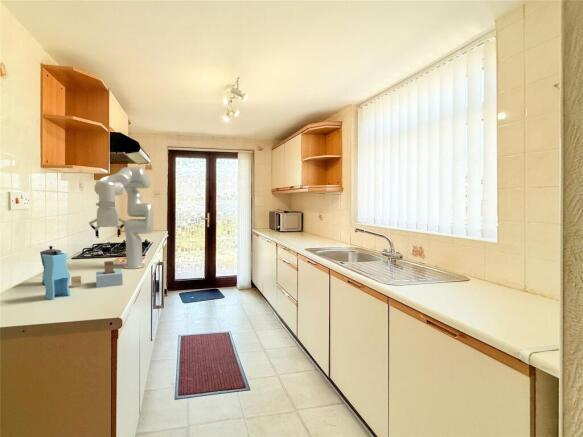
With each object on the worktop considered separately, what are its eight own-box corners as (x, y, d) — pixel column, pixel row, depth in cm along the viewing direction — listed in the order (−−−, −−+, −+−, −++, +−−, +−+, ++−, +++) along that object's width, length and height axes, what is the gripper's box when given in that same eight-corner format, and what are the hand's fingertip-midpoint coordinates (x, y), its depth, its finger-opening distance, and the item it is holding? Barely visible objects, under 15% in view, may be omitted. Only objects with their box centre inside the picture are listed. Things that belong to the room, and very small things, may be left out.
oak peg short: (72, 286, 177) (71, 276, 177) (81, 285, 179) (80, 275, 179) (71, 287, 174) (71, 278, 173) (80, 286, 176) (80, 277, 175)
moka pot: (57, 279, 190) (56, 243, 189) (69, 283, 182) (68, 246, 180) (37, 282, 183) (35, 245, 181) (48, 287, 174) (47, 248, 172)
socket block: (96, 282, 184) (96, 271, 184) (121, 279, 190) (120, 269, 190) (96, 287, 174) (96, 276, 174) (122, 284, 180) (122, 273, 180)
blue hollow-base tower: (61, 293, 164) (60, 252, 163) (70, 295, 161) (69, 253, 159) (43, 297, 157) (41, 254, 156) (52, 300, 154) (50, 256, 152)
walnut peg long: (104, 283, 183) (104, 261, 182) (113, 282, 185) (112, 260, 184) (105, 285, 179) (104, 262, 179) (113, 284, 182) (113, 261, 181)
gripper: (88, 205, 172) (89, 239, 173) (126, 205, 180) (126, 237, 182) (88, 205, 178) (89, 237, 180) (124, 204, 187) (125, 235, 188)
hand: (108, 237), depth 181 cm, fingers open, 9 cm apart
